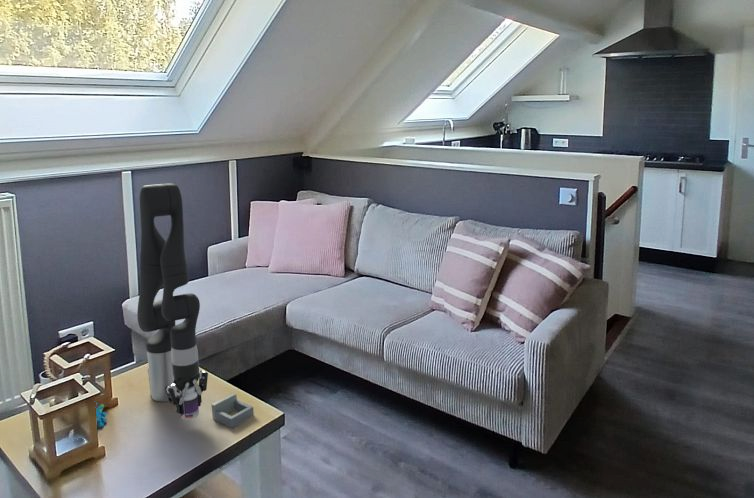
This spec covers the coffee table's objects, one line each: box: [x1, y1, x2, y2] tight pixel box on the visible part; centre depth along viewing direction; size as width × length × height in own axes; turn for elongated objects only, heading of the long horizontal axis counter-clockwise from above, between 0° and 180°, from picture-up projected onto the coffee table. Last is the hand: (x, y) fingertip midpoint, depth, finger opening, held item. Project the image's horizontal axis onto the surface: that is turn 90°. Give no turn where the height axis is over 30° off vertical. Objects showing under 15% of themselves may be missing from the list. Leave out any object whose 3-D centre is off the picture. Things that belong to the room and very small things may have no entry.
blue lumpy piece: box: [95, 402, 108, 428], centre depth 189 cm, size 11×6×10 cm
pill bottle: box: [179, 386, 200, 420], centre depth 186 cm, size 5×5×10 cm
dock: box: [211, 392, 255, 428], centre depth 192 cm, size 9×9×5 cm
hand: (189, 409), depth 187 cm, fingers closed on pill bottle, 5 cm apart
